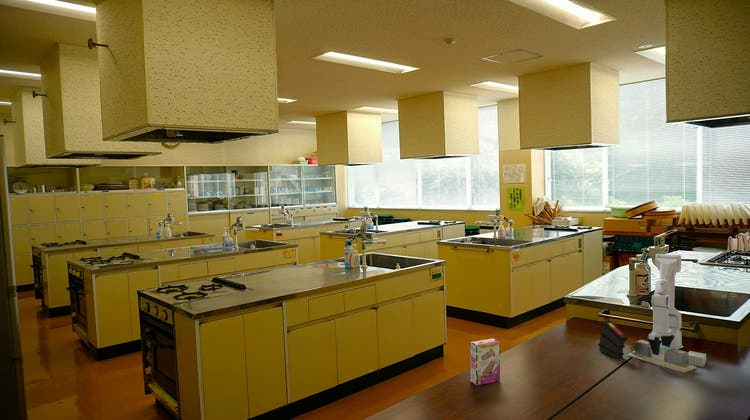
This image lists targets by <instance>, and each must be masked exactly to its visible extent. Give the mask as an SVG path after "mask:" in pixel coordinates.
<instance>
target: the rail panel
mask: <svg viewBox="0 0 750 420" xmlns="http://www.w3.org/2000/svg"><path fill="white" fill-rule="evenodd" d="M688 353H689V351H688V352H687V351H686V350H685V351H684V350H681V349H674V348H673V349H670V350H668V351H667V360H666V361H662V360H659V359H655V358H652V349H651V346H650V344H649V342H648V340H645V339H639V340H637V341H634V350H632V351H631V352H629V353H627V356H629V357H631V358H635V359H638V360H642V361H644V362H647V363H651V364H654V365H657V366H660V367H664V368H667V369H671V370H674V371H677V372H679V373H684V374H685V373H687V372H690V371H692V370H695V369H697V366H696V365H691V364H688Z"/></svg>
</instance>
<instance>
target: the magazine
mask: <svg viewBox="0 0 750 420" xmlns="http://www.w3.org/2000/svg"><path fill="white" fill-rule="evenodd" d="M602 325H603V326H602V328H601V331H600V332H599V335H600V337H599V343H597V346H598V347H599V352H601V353H602V354H605V355H606V356H607V355H608V356H610V357H613V358H614V359H618V360H619V359H623V356H624V355H625V353H624V351H623V350H624V348H625V347H626V346H625V343H626V341H628V340H629V339H628V336H627V334H626V333H624V332H623V331H622V330H621V329H620V328H619V327H618V326H617V324H615V323H614V322H612V320H605V321H604V322H603V323H602Z"/></svg>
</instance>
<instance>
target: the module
mask: <svg viewBox="0 0 750 420" xmlns="http://www.w3.org/2000/svg"><path fill="white" fill-rule="evenodd" d="M668 350H669V347H666V346H663V345H660V349H659V355H654V354H653V353H652V358H655V359H659V360H662V361H666V360H667V351H668Z"/></svg>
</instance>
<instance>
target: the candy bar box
mask: <svg viewBox="0 0 750 420" xmlns="http://www.w3.org/2000/svg"><path fill="white" fill-rule="evenodd" d="M469 346H470V351H469V352H470V354H469V355H470V357H469V359H470V382H471V383H472V384H473V385H475V387H477V386H483V385H487V384H493V383H497V382H500V381H501V342H500V341H499V340H497V339H495V338H488V339H481V340H476V341H470V345H469Z"/></svg>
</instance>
